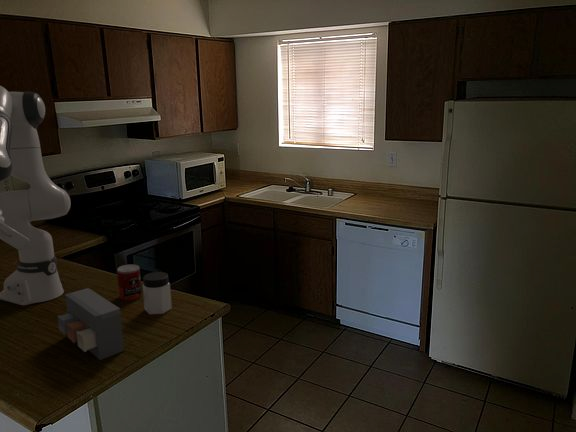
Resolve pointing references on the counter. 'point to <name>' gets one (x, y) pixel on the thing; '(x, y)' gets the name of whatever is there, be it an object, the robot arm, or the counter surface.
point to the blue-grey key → (65, 321)
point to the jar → (156, 293)
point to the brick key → (74, 329)
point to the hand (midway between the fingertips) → (29, 247)
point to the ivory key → (86, 339)
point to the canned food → (129, 282)
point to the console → (98, 320)
